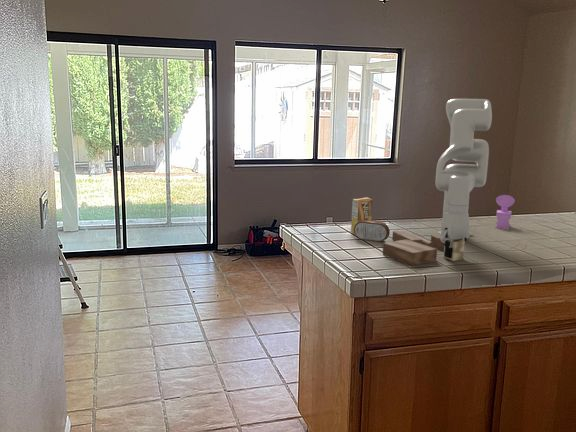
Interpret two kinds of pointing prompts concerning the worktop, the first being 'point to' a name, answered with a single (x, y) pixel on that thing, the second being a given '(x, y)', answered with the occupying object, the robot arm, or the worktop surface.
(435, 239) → the wooden block set
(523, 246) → the worktop surface
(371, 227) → the tin
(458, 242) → the maple block
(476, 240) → the worktop surface
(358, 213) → the candy box
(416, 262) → the walnut block
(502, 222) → the toy chair
